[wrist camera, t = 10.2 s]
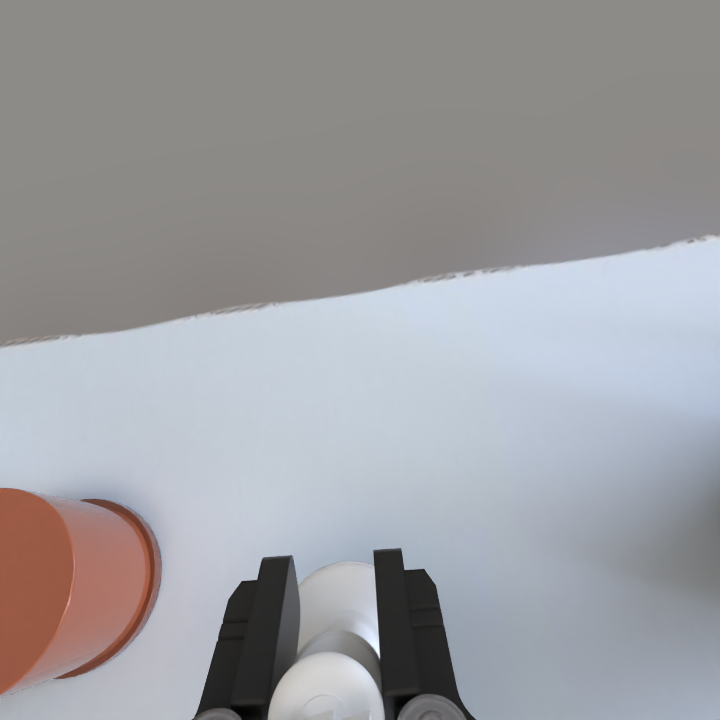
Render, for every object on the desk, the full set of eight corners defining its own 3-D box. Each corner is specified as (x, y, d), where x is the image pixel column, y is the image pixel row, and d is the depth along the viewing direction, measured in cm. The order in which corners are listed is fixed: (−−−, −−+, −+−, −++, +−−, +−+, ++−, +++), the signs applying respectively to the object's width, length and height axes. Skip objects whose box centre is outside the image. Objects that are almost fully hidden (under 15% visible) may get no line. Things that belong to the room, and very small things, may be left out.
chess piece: (264, 581, 16) (114, 612, 7) (403, 545, 16) (436, 529, 7) (289, 756, 14) (129, 1117, 5) (446, 712, 15) (564, 977, 5)
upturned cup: (108, 469, 29) (19, 439, 22) (192, 585, 27) (123, 597, 19) (-26, 578, 27) (-176, 587, 20) (51, 718, 24) (-89, 787, 17)
